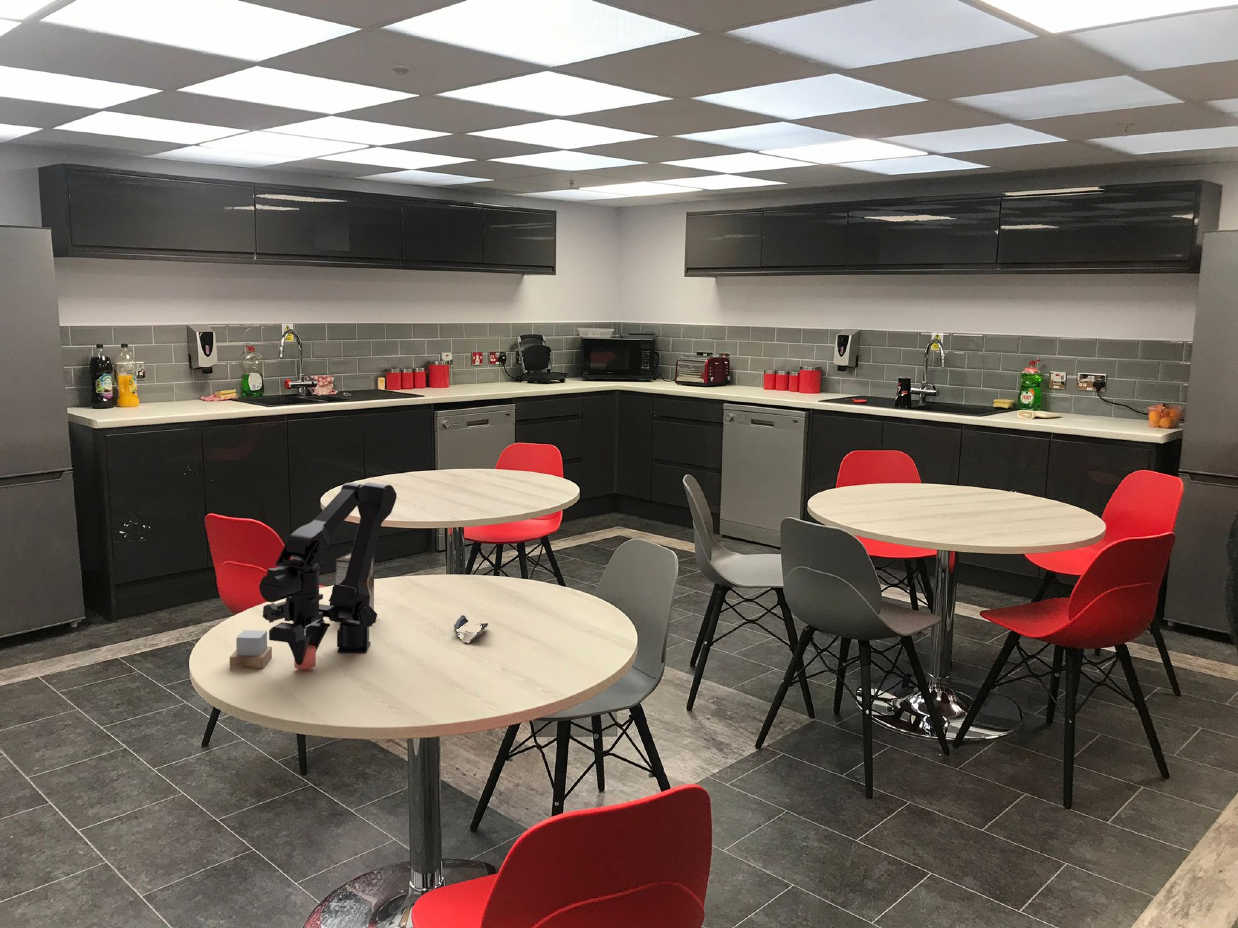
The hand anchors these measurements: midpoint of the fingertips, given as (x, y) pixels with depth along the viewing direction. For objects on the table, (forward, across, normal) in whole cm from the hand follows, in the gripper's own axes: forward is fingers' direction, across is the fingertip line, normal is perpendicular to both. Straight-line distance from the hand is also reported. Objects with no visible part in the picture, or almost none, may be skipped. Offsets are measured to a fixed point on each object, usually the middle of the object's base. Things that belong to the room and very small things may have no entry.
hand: (305, 660), depth 202 cm
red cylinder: (+1, 0, 0) cm, 1 cm away
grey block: (0, 0, -13) cm, 13 cm away
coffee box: (+2, -37, -8) cm, 38 cm away
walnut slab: (+2, 0, -13) cm, 13 cm away
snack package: (+3, -34, +25) cm, 42 cm away
